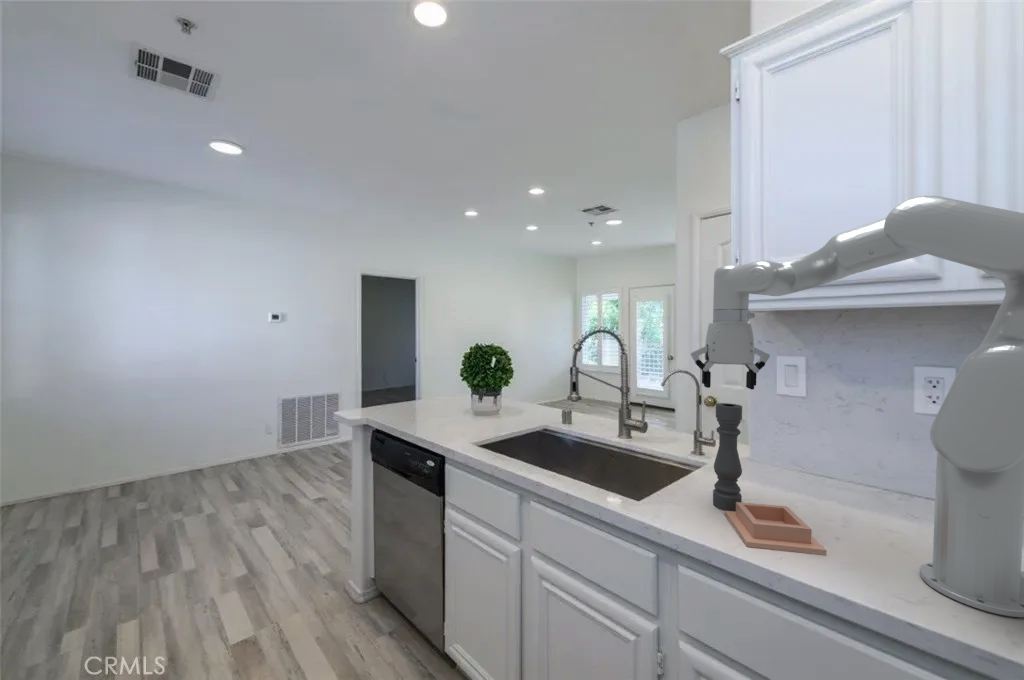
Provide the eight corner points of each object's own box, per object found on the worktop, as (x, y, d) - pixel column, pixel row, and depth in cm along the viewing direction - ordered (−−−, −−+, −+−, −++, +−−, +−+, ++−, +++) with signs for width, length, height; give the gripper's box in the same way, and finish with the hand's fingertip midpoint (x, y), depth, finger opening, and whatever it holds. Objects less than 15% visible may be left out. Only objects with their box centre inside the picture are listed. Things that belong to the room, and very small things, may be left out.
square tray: (791, 520, 91) (791, 503, 90) (826, 555, 77) (827, 534, 77) (724, 514, 93) (724, 498, 93) (746, 546, 80) (747, 527, 80)
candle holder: (745, 513, 94) (747, 408, 93) (717, 510, 95) (718, 407, 95) (736, 502, 100) (738, 403, 100) (709, 499, 102) (711, 402, 101)
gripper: (763, 318, 98) (761, 386, 99) (688, 317, 102) (687, 384, 103) (776, 317, 91) (774, 391, 92) (695, 317, 95) (694, 388, 95)
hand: (728, 387), depth 97 cm, fingers open, 9 cm apart
